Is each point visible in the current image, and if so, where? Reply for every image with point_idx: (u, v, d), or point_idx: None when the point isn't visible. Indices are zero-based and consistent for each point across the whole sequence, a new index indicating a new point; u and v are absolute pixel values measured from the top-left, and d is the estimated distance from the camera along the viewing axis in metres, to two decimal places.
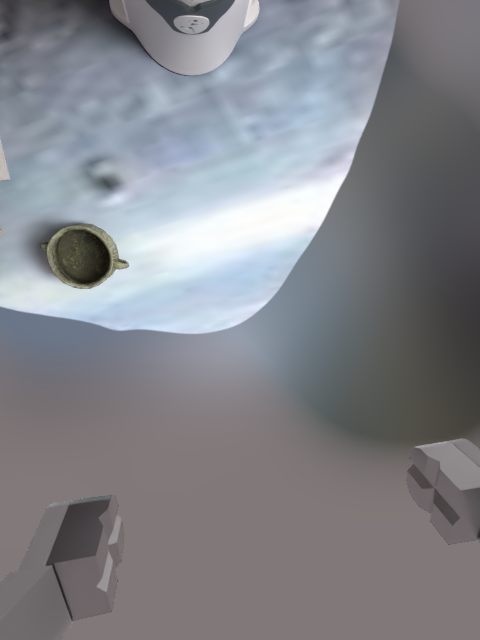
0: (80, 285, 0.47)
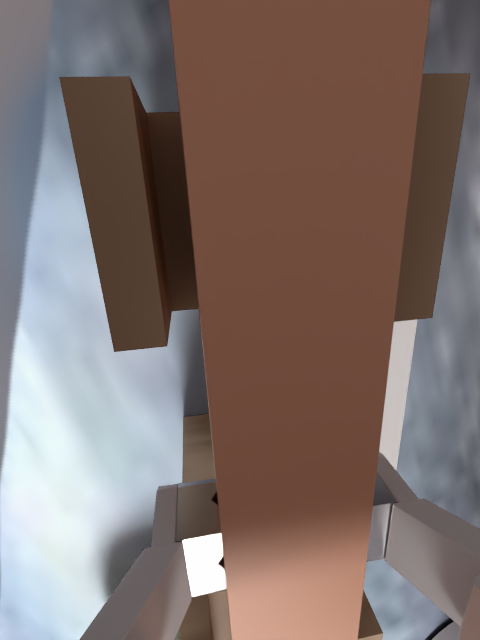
0: None
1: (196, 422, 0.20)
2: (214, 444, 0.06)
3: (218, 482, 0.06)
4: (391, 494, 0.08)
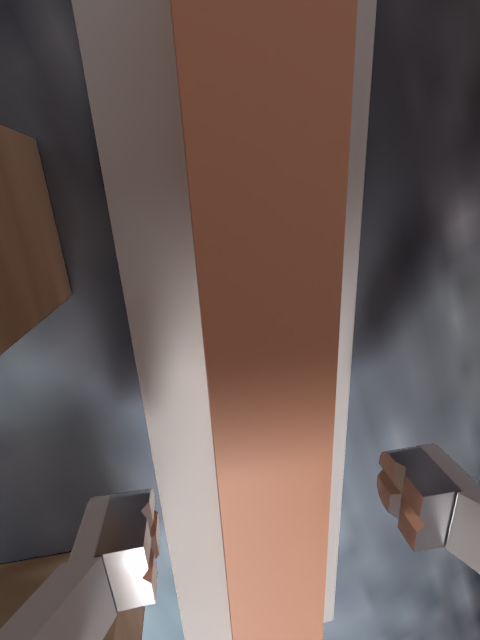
0: None
1: None
2: (209, 381, 0.07)
3: (212, 413, 0.08)
4: (452, 483, 0.08)
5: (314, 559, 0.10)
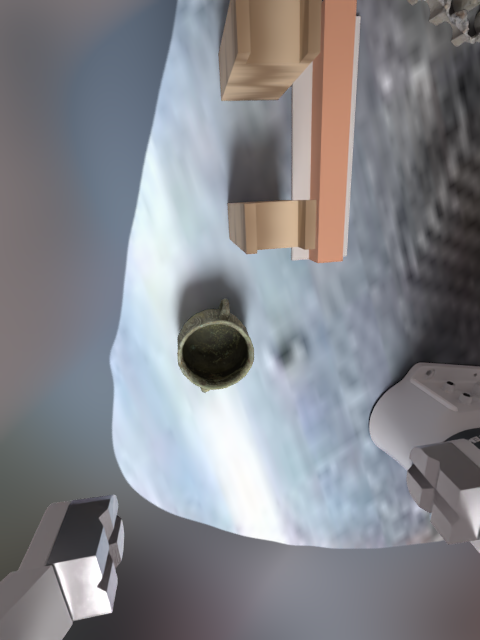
0: (181, 352, 0.37)
1: None
2: (322, 105, 0.33)
3: (322, 115, 0.33)
4: None
5: (343, 174, 0.35)
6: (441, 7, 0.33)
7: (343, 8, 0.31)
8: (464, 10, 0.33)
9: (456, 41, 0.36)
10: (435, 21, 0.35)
